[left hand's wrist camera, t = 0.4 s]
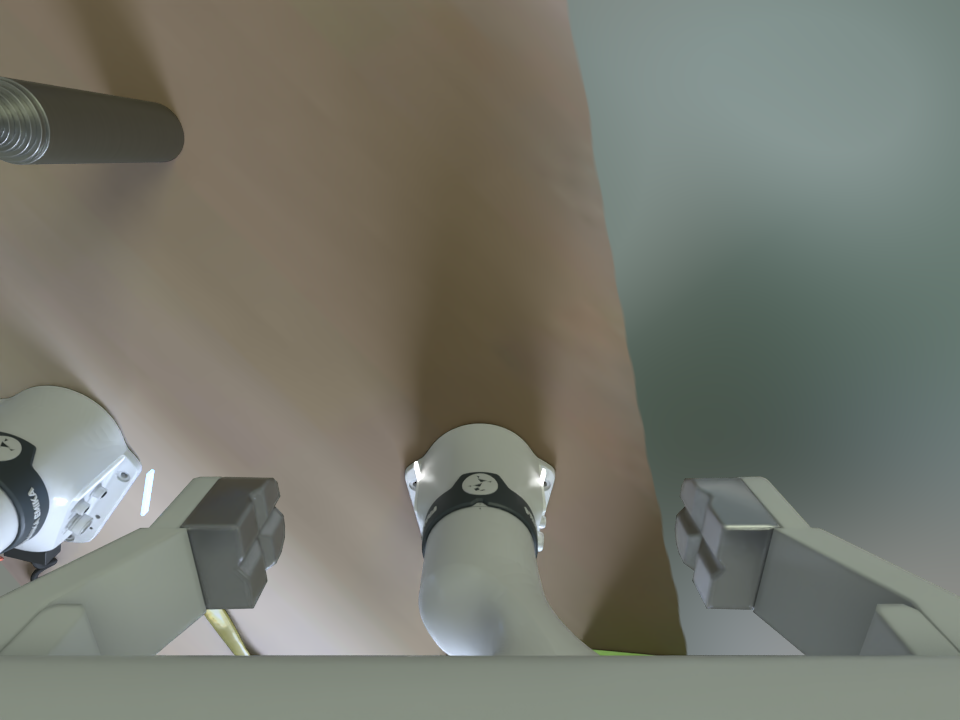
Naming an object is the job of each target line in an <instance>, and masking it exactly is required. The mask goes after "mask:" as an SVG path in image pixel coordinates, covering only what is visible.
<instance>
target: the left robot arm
mask: <svg viewBox="0 0 960 720" xmlns="http://www.w3.org/2000/svg"><path fill="white" fill-rule="evenodd" d="M405 480H406V484H407V487H408V490H409V494H410V497H411V501H412V504H413V508H414V511H415V514H416V518H417V521H418V525H419V528H420V531H421V535H422V553H423V558H424V563H423V570H422V577H421V585H420V592H419V610H420V614H421V618H422V621H423V623H424V625H425V627H426V629H427V630H428V632H429V634H430V635H431V637H432V638H433V639H434V641H435V642H436V643H437V645H438V646H439V647H440V648H441V649H442V650H443V651H444V652H446V653H447V654H448V655H450V656H438V655H236V656H166V655H156V654H157V653H158V652H159V651H160V650H162V649H163V648H164V647H165V646H166V645H168V644H169V643H170V642H171V641H172V640H174V639H175V638H176V637H177V636H178V635H180V634H181V633H182V632H183V631H185V630H186V629H187V628H188V627H189V626H191V625H192V624H193V623H194V622H195V621H197V620H198V619H199V618H200V617H201V616H203V615H204V614H205V613H206V612H207V611H206V610H213V609H248V608H254V606H255V604H256V602H257V600H258V598H259V596H260V595H261V593H262V591H263V589H264V587H265V585H266V583H267V575H266V570H267V569H269V568H270V567H272V566H273V565H275V564H276V563H277V561H278V559H279V556H280V554H281V552H282V548H283V543H284V539H285V523H284V516H283V514H282V513H281V512H280V511H279V510H278V509H277V508H276V507H275V505H276V503H277V501H278V499H279V498H280V492H279V488H278V483H277V481H276V480H275V479H274V478H255V477H198V478H194V479H193V480H192V481H191V482H190V483H189V484H188V485H187V486H186V487H185V488H184V489H183V491H182V492H181V493H180V494H179V495H178V496H177V497H176V498H175V499H174V501H173V502H172V503H171V504H170V505H169V506H168V507H167V508H166V509H165V511H164V512H163V513H162V514H161V515H160V516H159V517H158V518H157V519H156V521H155V522H154V523H153V524H152V525H151V526H150V527H149V528H139V529H137V530H135V531H133V532H131V533H129V534H127V535H125V536H123V537H121V538H119V539H117V540H115V541H113V542H111V543H109V544H107V545H105V546H103V547H101V548H99V549H97V550H94V551H92V552H90V553H88V554H86V555H84V556H82V557H80V558H78V559H76V560H74V561H72V562H70V563H68V564H66V565H64V566H62V567H60V568H58V569H56V570H54V571H52V572H50V573H47V574H45V575H43V576H41V577H39V578H37V579H35V580H33V581H31V582H29V583H27V584H25V585H23V586H21V587H19V588H17V589H15V590H13V591H11V592H9V593H7V594H5V595H3V596H1V597H0V720H960V597H959V596H957V595H955V594H953V593H951V592H949V591H947V590H945V589H943V588H941V587H939V586H937V585H935V584H933V583H931V582H929V581H926V580H924V579H922V578H920V577H918V576H916V575H914V574H912V573H910V572H908V571H906V570H904V569H902V568H900V567H898V566H896V565H894V564H892V563H890V562H888V561H886V560H884V559H882V558H880V557H878V556H876V555H874V554H871V553H869V552H867V551H865V550H863V549H861V548H859V547H857V546H855V545H853V544H851V543H849V542H847V541H845V540H843V539H841V538H839V537H837V536H835V535H833V534H831V533H829V532H827V531H825V530H823V529H821V528H811V527H810V526H809V525H808V524H807V523H806V522H805V521H804V519H803V518H802V517H801V516H800V515H799V514H798V513H797V512H796V511H795V509H794V508H793V507H792V506H791V505H790V504H789V503H788V502H787V501H786V499H785V498H784V497H783V496H782V495H781V494H780V493H779V492H778V491H777V489H776V488H775V487H774V486H773V485H772V484H771V483H770V482H769V481H768V480H767V479H766V478H763V477H761V476H758V477H736V478H692V479H685V480H684V482H683V484H682V486H681V492H680V498H681V499H682V501H683V503H684V505H685V507H684V508H683V509H682V510H681V511H680V512H679V513H678V514H677V516H676V524H675V536H676V545H677V548H678V552H679V554H680V556H681V559H682V561H683V563H684V564H685V565H687V566H688V567H690V568H691V569H693V570H694V575H693V583H694V585H695V587H696V589H697V591H698V593H699V594H700V596H701V598H702V600H703V602H704V604H705V606H706V608H711V609H748V610H754V611H753V612H754V613H755V614H756V615H758V616H759V617H760V618H761V619H762V620H764V621H765V622H766V623H767V624H769V625H770V626H771V627H772V628H773V629H774V630H776V631H777V632H778V633H779V634H781V635H782V636H783V637H784V638H785V639H787V640H788V641H789V642H790V643H791V644H793V645H794V646H795V647H796V648H797V649H799V650H800V651H801V652H802V653H803V654H805V655H786V656H785V655H768V656H767V655H766V656H765V655H763V656H762V655H758V656H756V655H753V656H752V655H745V656H743V655H731V656H730V655H729V656H728V655H726V656H725V655H722V656H720V655H718V656H716V655H715V656H714V655H711V656H709V655H708V656H706V655H705V656H704V655H703V656H702V655H699V656H600V655H599V654H597V653H596V652H595V651H593V650H592V649H591V648H589V647H588V646H587V645H585V644H584V643H583V642H582V641H581V640H580V639H578V638H577V637H576V636H575V635H574V634H573V633H572V632H571V631H570V630H569V629H568V628H567V627H566V626H565V624H564V623H563V622H562V621H561V620H560V619H559V618H558V616H557V615H556V614H555V612H554V611H553V609H552V608H551V606H550V605H549V603H548V601H547V599H546V597H545V595H544V591H543V588H542V584H541V580H540V576H539V572H538V567H537V561H536V558H537V553H538V552H540V551H542V549H543V544H544V535H543V533H542V532H540V528H545V526H546V517H545V516H544V514H545V511H546V508H547V504H548V501H549V497H550V494H551V491H552V487H553V484H554V480H555V470H554V468H553V467H552V466H551V465H549V464H548V463H546V462H544V461H543V460H541V459H539V458H538V457H537V456H536V455H535V454H534V453H533V452H532V450H531V449H530V448H529V446H528V445H527V444H526V443H525V441H524V440H522V439H521V438H520V437H519V436H518V435H516V434H515V433H513V432H511V431H510V430H508V429H505V428H503V427H500V426H496V425H492V424H481V423H479V424H468V425H464V426H460V427H457V428H455V429H452V430H450V431H449V432H447V433H445V434H444V435H442V436H441V437H440V438H439V439H438V440H436V442H435V443H434V444H433V445H432V446H431V448H430V449H429V450H428V452H427V453H426V454H425V456H423V457H422V458H421V459H419V460H417V461H416V462H414V463H412V464H411V465H409V466H408V467H407V468H406V470H405ZM415 481H417V484H416V483H414V482H415ZM544 481H545V482H546V483H544ZM543 483H544V484H543Z"/></svg>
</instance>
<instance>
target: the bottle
mask: <svg viewBox="0 0 960 720" xmlns="http://www.w3.org/2000/svg"><path fill="white" fill-rule="evenodd" d="M183 144H184V133H183V129H182V126H181V124H180V122H179V120H178V118H177V117H176V116H175V114H174V113H173V112H172V111H171V110H169V109H168V108H167V107H165V106H163V105H161V104H159V103H155V102H149V101H143V100H137V99H131V98H125V97H119V96H113V95H108V94H102V93H96V92H90V91H84V90H78V89H72V88H66V87H60V86H54V85H48V84H42V83H36V82H30V81H24V80H18V79H12V78H6V77H0V160H3V161H5V162H8V163H12V164H20V165H25V164H85V163H145V162H167V161H170V160H173V159H174V158H176V157H177V156H178V155H179V153H180V152H181V150H182V148H183Z"/></svg>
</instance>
